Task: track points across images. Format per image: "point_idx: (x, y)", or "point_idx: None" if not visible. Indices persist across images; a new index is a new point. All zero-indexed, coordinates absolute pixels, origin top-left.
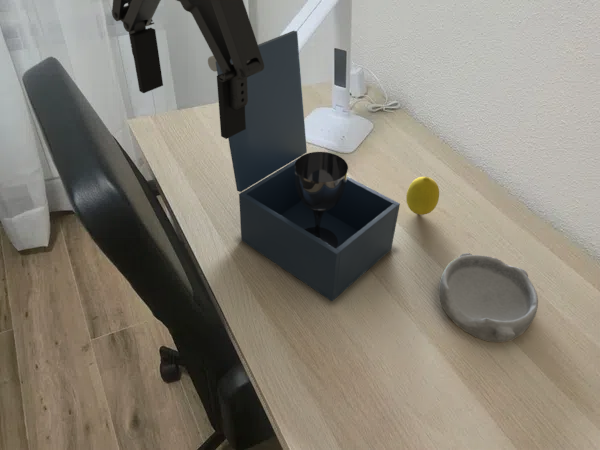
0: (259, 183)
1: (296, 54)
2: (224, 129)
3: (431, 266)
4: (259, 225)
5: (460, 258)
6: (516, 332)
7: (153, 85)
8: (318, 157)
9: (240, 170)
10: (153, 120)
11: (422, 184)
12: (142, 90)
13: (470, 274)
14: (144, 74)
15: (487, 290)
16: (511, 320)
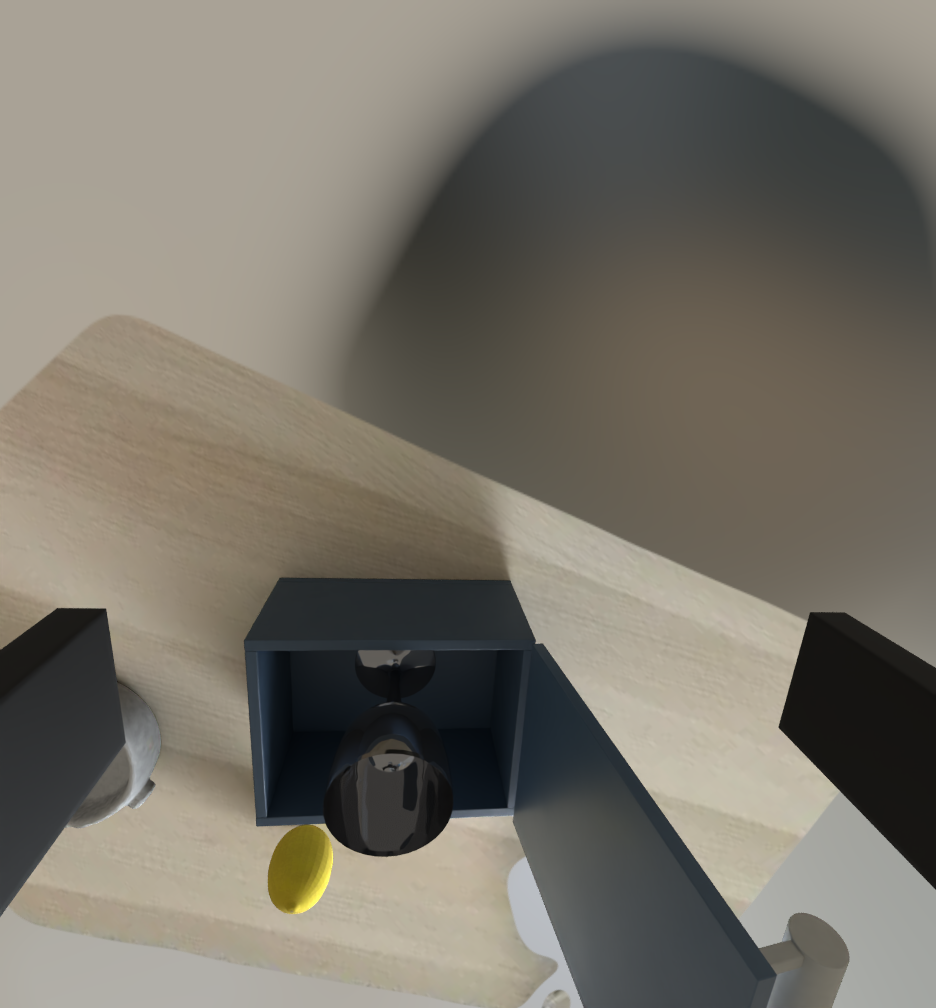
0: (525, 691)
1: None
2: (21, 641)
3: (207, 745)
4: (467, 613)
5: (128, 787)
6: None
7: (808, 688)
8: (432, 824)
9: (551, 684)
10: None
11: (292, 891)
12: (828, 620)
13: (119, 770)
14: (897, 703)
15: None
16: None
